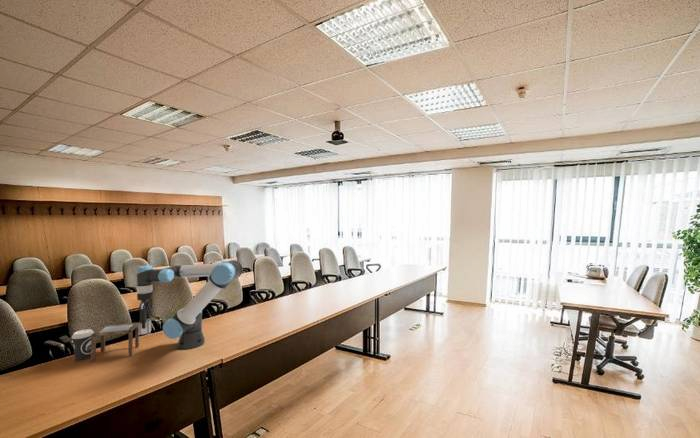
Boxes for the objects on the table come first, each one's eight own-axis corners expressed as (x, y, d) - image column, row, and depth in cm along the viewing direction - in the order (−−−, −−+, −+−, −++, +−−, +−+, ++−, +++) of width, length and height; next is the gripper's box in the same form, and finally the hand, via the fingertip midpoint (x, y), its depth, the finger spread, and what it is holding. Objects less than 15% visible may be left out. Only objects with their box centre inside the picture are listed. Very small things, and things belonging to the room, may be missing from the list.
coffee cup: (91, 353, 172) (91, 327, 172) (96, 357, 167) (96, 331, 167) (69, 359, 165) (69, 332, 165) (73, 364, 159) (73, 336, 159)
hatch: (133, 325, 179) (133, 323, 179) (127, 331, 169) (127, 329, 169) (104, 328, 174) (104, 326, 174) (96, 335, 164) (96, 333, 164)
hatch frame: (138, 346, 181) (139, 322, 181) (131, 356, 168) (131, 330, 168) (101, 351, 174) (102, 326, 175) (91, 362, 161) (91, 334, 162)
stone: (151, 330, 175) (151, 318, 176) (148, 333, 171) (148, 321, 171) (141, 331, 174) (141, 320, 174) (138, 334, 169) (138, 322, 169)
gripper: (141, 289, 180) (142, 327, 179) (132, 296, 163) (132, 338, 163) (156, 288, 182) (156, 326, 182) (148, 295, 166) (148, 336, 165)
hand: (145, 331), depth 172 cm, fingers closed on stone, 5 cm apart
